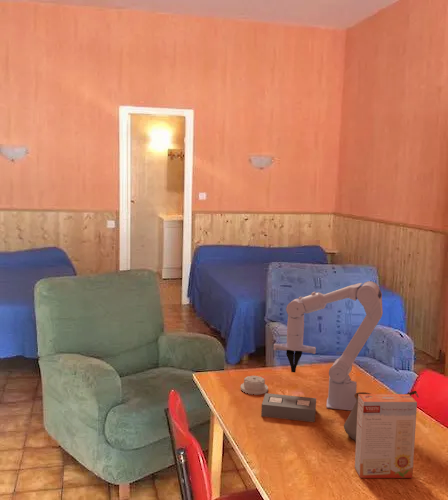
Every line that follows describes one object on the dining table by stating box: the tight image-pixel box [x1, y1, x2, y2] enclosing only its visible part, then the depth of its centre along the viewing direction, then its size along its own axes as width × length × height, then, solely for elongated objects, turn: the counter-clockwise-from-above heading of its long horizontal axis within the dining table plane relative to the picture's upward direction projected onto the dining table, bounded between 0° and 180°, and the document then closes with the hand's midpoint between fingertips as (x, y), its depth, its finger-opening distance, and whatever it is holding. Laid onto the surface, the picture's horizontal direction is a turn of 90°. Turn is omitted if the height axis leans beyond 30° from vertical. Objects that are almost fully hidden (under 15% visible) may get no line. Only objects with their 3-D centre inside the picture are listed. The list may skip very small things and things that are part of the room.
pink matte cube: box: [297, 400, 310, 406], centre depth 185 cm, size 4×4×4 cm
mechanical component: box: [239, 375, 269, 396], centre depth 206 cm, size 10×4×10 cm
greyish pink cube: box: [269, 397, 282, 403], centre depth 187 cm, size 4×4×4 cm
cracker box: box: [354, 393, 418, 479], centre depth 149 cm, size 14×6×21 cm, turn 92°
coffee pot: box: [343, 390, 419, 442], centre depth 170 cm, size 21×12×15 cm, turn 89°
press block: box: [260, 392, 317, 423], centre depth 186 cm, size 17×10×4 cm, turn 79°
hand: (293, 371), depth 199 cm, fingers closed
